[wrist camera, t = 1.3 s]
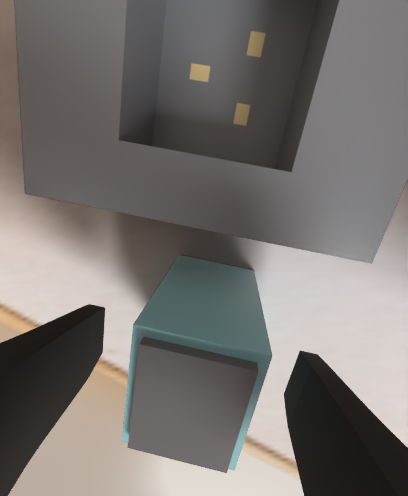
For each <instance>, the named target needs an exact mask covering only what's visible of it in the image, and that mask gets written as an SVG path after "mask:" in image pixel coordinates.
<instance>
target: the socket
mask: <svg viewBox="0 0 408 496" xmlns="http://www.w3.org/2000/svg"><path fill="white" fill-rule="evenodd" d="M14 4H15V22H16V40H17V59H18V77H19V95H20V113H21V132H22V150H23V168H24V186H25V194H29V195H34V196H39V197H44V198H49V199H54V200H59V201H64V202H69V203H74V204H79V205H84V206H89V207H94V208H99V209H104V210H109V211H114V212H119V213H123V214H128V215H133V216H138V217H143V218H148V219H153V220H158V221H163V222H168V223H173V224H178V225H183V226H188V227H193V228H198V229H203V230H208V231H213V232H218V233H223V234H228V235H233V236H238V237H243V238H248V239H253V240H257V241H262V242H267V243H272V244H277V245H282V246H287V247H292V248H297V249H302V250H307V251H312V252H317V253H322V254H327V255H332V256H337V257H342V258H347V259H352V260H357V261H362V262H367V263H372V262H373V260H374V257H375V255H376V253H377V250H378V248H379V246H380V243H381V241H382V239H383V236H384V234H385V232H386V229H387V227H388V224H389V222H390V220H391V217H392V215H393V213H394V210H395V208H396V206H397V203H398V201H399V199H400V196H401V194H402V192H403V189H404V187H405V185H406V182H407V180H408V0H14Z"/></svg>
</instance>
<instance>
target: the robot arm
mask: <svg viewBox="0 0 408 496" xmlns="http://www.w3.org/2000/svg"><path fill="white" fill-rule="evenodd" d="M104 317H105V308H104V307H99V306H95V305H90V304H89V305H86V306H84V307H81V308H79V309H77V310H75V311H72V312H70V313H68V314H66V315H64V316H61V317H59V318H57V319H55V320H53V321H51V322H48V323H46V324H44V325H42V326H39V327H37V328H35V329H33V330H31V331H28V332H26V333H24V334H21V335H19V336H16V337H14V338H12V339H9V340H7V341H4V342H2V343H0V496H8V494H9V493H10V491H11V489H12V488H13V486H14V485H15V483H16V481H17V479H18V478H19V476H20V475H21V473H22V472H23V470H24V468H25V467H26V465H27V464H28V462H29V461H30V459H31V458H32V456H33V455H34V453H35V452H36V450H37V449H38V447H39V446H40V445H41V443H42V442H43V440H44V439H45V437H46V436H47V435H48V433H49V432H50V431H51V429H52V428H53V427H54V425H55V424H56V422H57V421H58V420H59V418H60V417H61V415H62V414H63V413H64V411H65V410H66V409H67V407H68V406H69V404H70V403H71V402H72V400H73V399H74V398H75V396H76V395H77V393H78V392H79V391H80V389H81V388H82V386H83V385H84V383H85V382H86V381H87V379H88V377H89V376H90V374H91V372H92V371H93V369H94V367H95V365H96V363H97V362H98V360H99V358H100V356H101V354H102V353H103V335H104ZM284 399H285V408H286V416H287V423H288V429H289V433H290V438H291V442H292V446H293V451H294V455H295V459H296V463H297V467H298V471H299V476H300V480H301V484H302V488H303V492H304V496H408V448H407V447H406V446H405V445H404V444H403V443H402V442H401V441H400V440H399V439H398V438H397V437H396V436H395V435H394V434H393V433H392V432H391V431H390V430H389V429H388V428H387V427H386V426H385V425H384V424H383V423H382V422H381V421H380V420H379V419H378V418H377V417H376V416H375V415H374V414H373V413H372V412H371V411H370V410H369V409H368V408H367V406H366V405H365V404H364V403H363V402H362V401H361V400H360V399H359V398H358V397H357V396H356V395H355V394H354V393H353V392H352V391H351V389H350V388H349V387H348V386H347V385H346V384H345V383H344V382H343V381H342V380H341V379H340V378H339V376H338V375H337V374H336V373H335V372H334V371H333V370H332V369H331V368H330V367H329V366H328V365H327V364H326V363H325V362H324V361H323V360H322V359H321V358H320V357H319V356H318V355H317V354H313V353H308V352H304V351H300V352H299V355H298V358H297V360H296V363H295V366H294V368H293V371H292V374H291V376H290V379H289V382H288V385H287V387H286V390H285V393H284Z"/></svg>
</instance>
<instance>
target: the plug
mask: <svg viewBox="0 0 408 496" xmlns="http://www.w3.org/2000/svg"><path fill="white" fill-rule="evenodd" d="M271 358H272V352H271V348H270V343H269V338H268V334H267V329H266V324H265V320H264V315H263V310H262V306H261V301H260V296H259V292H258V287H257V282H256V278H255V273H254V270H249V269H245V268H240V267H235V266H230V265H225V264H221V263H216V262H211V261H206V260H201V259H197V258H192V257H187V256H182V255H179V256H178V257H177V259H176V260H175V262H174V263H173V265H172V267H171V268H170V270H169V271H168V273H167V274H166V276H165V277H164V279H163V280H162V282H161V283H160V285H159V286H158V288H157V289H156V291H155V292H154V294H153V295H152V297H151V298H150V300H149V301H148V303H147V305H146V306H145V308H144V309H143V311H142V312H141V314H140V315H139V317H138V318H137V320H136V321H135V323H134V324H133V334H132V344H131V354H130V364H129V374H128V383H127V393H126V403H125V413H124V423H123V433H122V442H126V443H128V448H131V449H135V450H139V451H143V452H147V453H151V454H155V455H158V456H163V457H166V458H170V459H174V460H178V461H182V462H186V463H189V464H193V465H197V466H201V467H205V468H209V469H213V470H217V471H221V472H225V473H227V470H228V469H231V470H235V467H236V464H237V461H238V458H239V455H240V452H241V449H242V446H243V443H244V440H245V437H246V434H247V431H248V428H249V425H250V422H251V419H252V416H253V413H254V410H255V407H256V404H257V401H258V398H259V395H260V392H261V388H262V385H263V382H264V379H265V376H266V373H267V370H268V367H269V364H270V361H271Z"/></svg>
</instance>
